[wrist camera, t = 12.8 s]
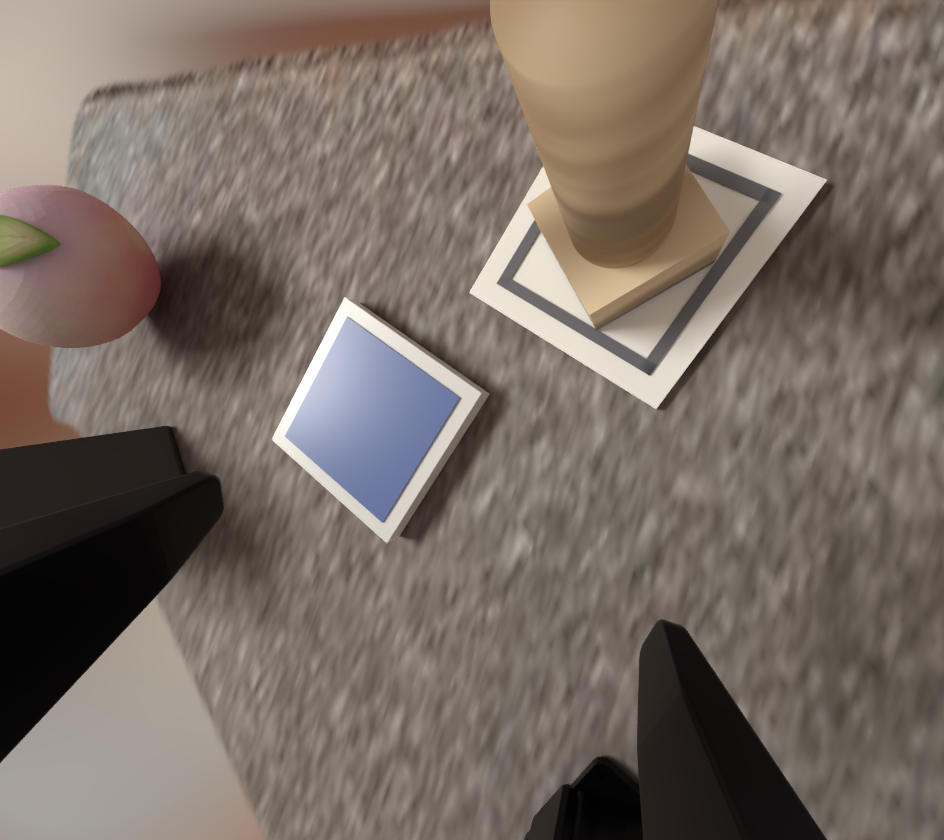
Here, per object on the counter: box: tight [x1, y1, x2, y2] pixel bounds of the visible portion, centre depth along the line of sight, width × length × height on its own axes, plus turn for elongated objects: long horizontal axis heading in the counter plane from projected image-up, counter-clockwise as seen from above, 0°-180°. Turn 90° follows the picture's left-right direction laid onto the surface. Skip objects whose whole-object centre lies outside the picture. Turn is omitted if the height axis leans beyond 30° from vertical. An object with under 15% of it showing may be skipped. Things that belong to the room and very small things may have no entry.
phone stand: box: [0, 426, 185, 528], centre depth 24 cm, size 9×6×12 cm, turn 113°
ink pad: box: [272, 297, 490, 543], centre depth 22 cm, size 9×9×1 cm
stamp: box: [490, 0, 730, 330], centre depth 12 cm, size 5×5×12 cm
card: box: [469, 126, 827, 409], centre depth 18 cm, size 10×10×1 cm
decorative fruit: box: [0, 185, 161, 348], centre depth 24 cm, size 9×8×10 cm
